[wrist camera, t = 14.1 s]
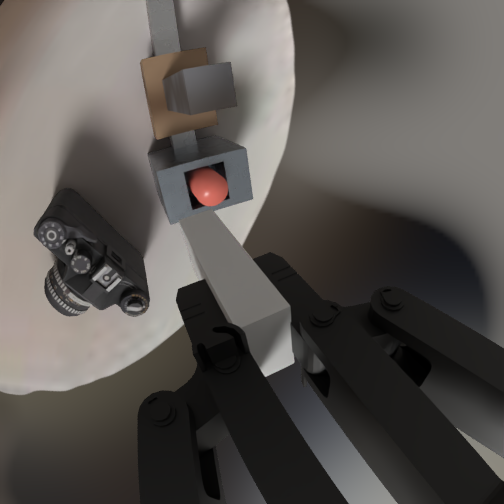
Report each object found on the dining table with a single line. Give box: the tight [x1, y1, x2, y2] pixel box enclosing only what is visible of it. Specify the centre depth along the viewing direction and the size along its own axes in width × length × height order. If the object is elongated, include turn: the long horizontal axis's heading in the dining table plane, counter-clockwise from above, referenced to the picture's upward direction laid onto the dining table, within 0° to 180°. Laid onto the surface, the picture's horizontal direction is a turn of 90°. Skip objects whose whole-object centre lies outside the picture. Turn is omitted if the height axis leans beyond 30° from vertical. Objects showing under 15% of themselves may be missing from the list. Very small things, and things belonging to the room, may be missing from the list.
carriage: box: [140, 47, 237, 140], centre depth 22 cm, size 8×6×15 cm
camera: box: [34, 189, 150, 317], centre depth 28 cm, size 14×11×10 cm
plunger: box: [185, 165, 228, 206], centre depth 26 cm, size 3×3×4 cm
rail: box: [146, 0, 253, 225], centre depth 22 cm, size 32×8×9 cm, turn 8°
